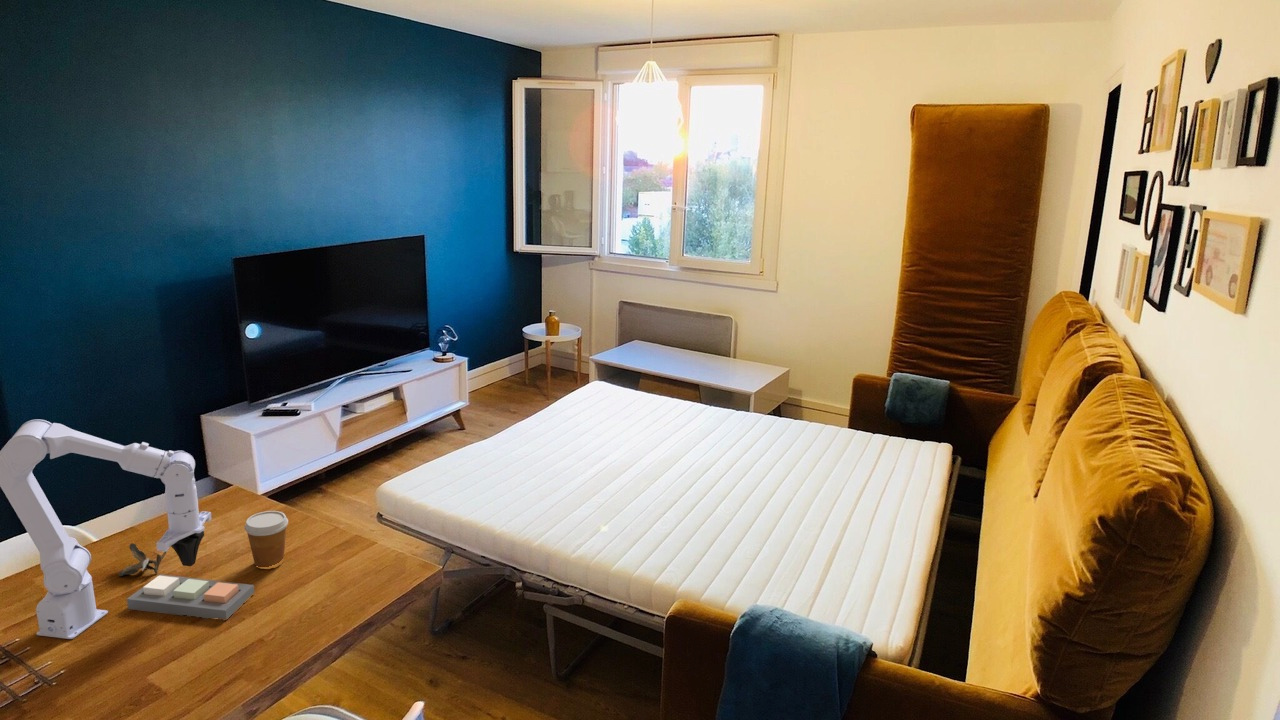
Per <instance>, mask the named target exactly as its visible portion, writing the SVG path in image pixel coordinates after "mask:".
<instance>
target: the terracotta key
mask: <svg viewBox="0 0 1280 720" xmlns="http://www.w3.org/2000/svg"><path fill="white" fill-rule="evenodd" d="M238 592H239V588H238V584H229V583H220V582H218V583H216V584H215V585H214V586H213V587H212V588H210V589H209V590H208V591H207V592H206V593H204V601H205V602H213V603H222V604H226V603H227V602H228V601H229V600H231V599H232V598H233V597H234V596H235V595H236V594H237V593H238Z"/></svg>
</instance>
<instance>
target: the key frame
mask: <svg viewBox="0 0 1280 720" xmlns="http://www.w3.org/2000/svg"><path fill="white" fill-rule="evenodd" d="M158 576H168V577H177V578H179V581H180V585H181V584H182V583H184V582H185V581H186V580H187V579H194V580H203V581H209V589H210V588H212V587H213V586H214V585H215V584H216V583H218V582H220V583H229V584H238V588H239V592H238V593H237V594H236V595H235V596H234V597H233V598H232V599H231V600H229V601H228V602H227V603H226V604H222V603H213V602H205V601H204V593H203V594H202V595H201V596H200V597H199V598H197V599H196V600H188V599H179V598H174V593H173V591H174V590H175V589H174V590H173V591H172V592H170V593H169V594H168V595H167V596H165V597H162V596H154V595H145V594H144V590H143V587H144V586H142V587H141V588H140V589H138V590H137V591H136V592H134V593H133V594H132V595H129V597H127V598H126V602H127V609H128V610H134V611H142V612H148V613H149V612H151V613H158V614H166V615H167V614H168V615H176V616H183V615H187V616H186V617H191V616H196V617H195V618H199V617H202V618H201V619H208V618H212V619H211V620H214V619H213V618H218V619H228V618H229V617H230V616H231V615H232V614H233V613H234V612H235V611H236V610H237V609H238V608H239V607H240V606H241V605H242V604H243V603H244V602H245V601H246V600H247V599H248V598H249V597H250V596H251V595H252V594H253V593H254V594H255V584H248V583H239V582H232V581H231V582H230V581H223V580H222V581H221V580H212V579H204V578H197V577H196V578H195V577H187V576H178V575H170V574H169V575H168V574H157V575H156V577H158ZM156 577H155V578H156ZM155 578H153V579H152V580H154V579H155ZM152 580H150V581H149V582H151V581H152ZM147 584H148V583H146V584H145V585H147ZM180 585H179V586H180ZM179 586H178V587H179ZM209 589H208V590H209ZM208 590H207V591H208ZM207 591H206V592H207ZM206 592H205V593H206ZM234 614H235V613H234ZM234 614H233V615H234ZM233 615H232V616H233ZM232 616H231V617H232ZM231 617H230V618H231ZM230 618H229V619H230ZM229 619H228V620H229Z"/></svg>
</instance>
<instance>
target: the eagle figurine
mask: <svg viewBox="0 0 1280 720" xmlns="http://www.w3.org/2000/svg"><path fill="white" fill-rule="evenodd" d="M128 548H129V551H131V554H132V556H133V557H134V558H135V559H136V560H138V561H139V562H137V563H135V564H130V565H127V566H126V567H124V569H121V570H120V571H119V572H118V577H123V576H126V575H135V574H137V573H138V572H139V571H140V570H141V571H142V572H143V571H144V570H145V569H147V570H151V571H153V572H154V574H155V575H156V576H158V570H159V567H160V565H161V562H162V561H163V559H164V557H165V556H166V554H167V552H168V551H166V552H164V551H163V554H162V555H160V554H159V553H157V555H156V560H152V559H150V557H147V554H145V552H143V550H139V548H138V546H137V544H135V543H133V542H132V543H130V544H129V546H128ZM150 564H153V565H154V567H153V566H152V565H150Z"/></svg>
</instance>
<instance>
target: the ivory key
mask: <svg viewBox="0 0 1280 720" xmlns="http://www.w3.org/2000/svg"><path fill="white" fill-rule="evenodd" d="M157 576H158V575H157ZM157 576H156V577H155V579H154V578H153V579H154V580H153V579H152V580H150V581H151V582H150V581H149V582H148V583H146V584H147V585H146V584H145V585H144V586H142V587H143V590H144V594H145V595H154V596H162V597H165V596H167V595H168V594H169V593H170V592H172V591H173V590H174V589H176V588H177V587H178V586H179V585H180V581H179V578H177V577H168V576H158V577H157Z"/></svg>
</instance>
